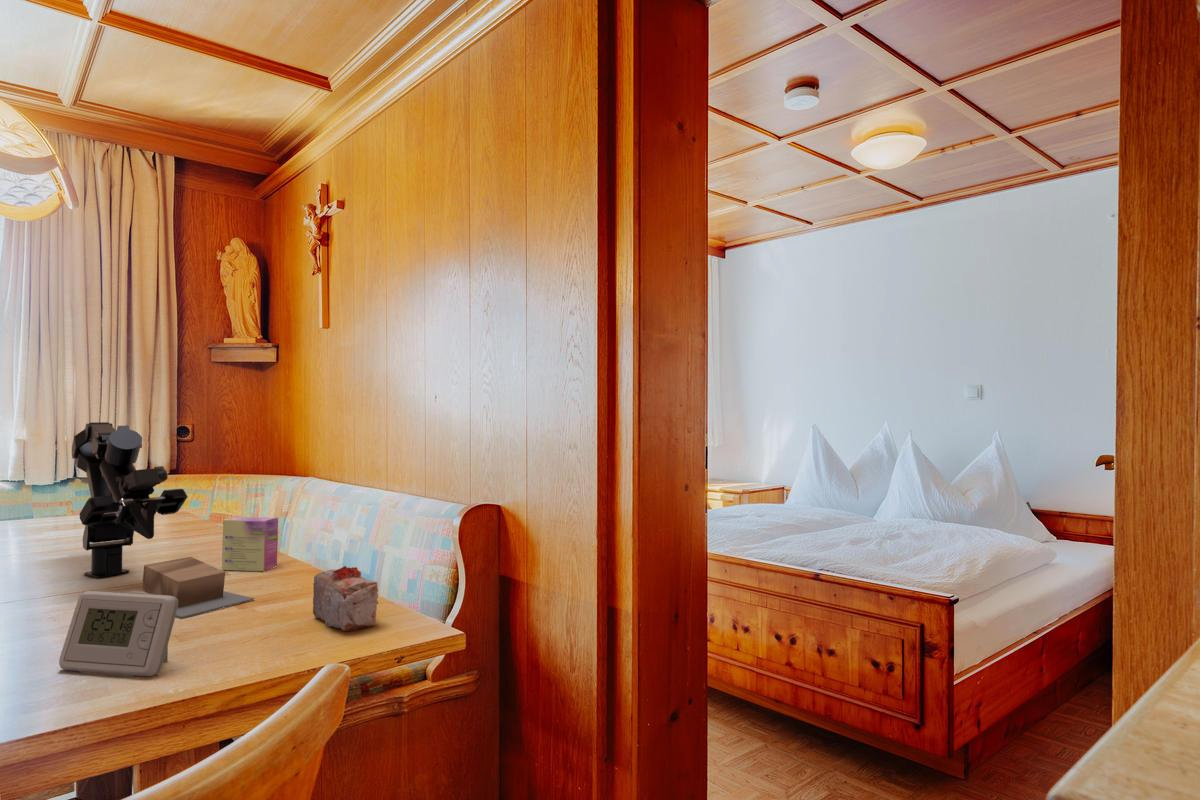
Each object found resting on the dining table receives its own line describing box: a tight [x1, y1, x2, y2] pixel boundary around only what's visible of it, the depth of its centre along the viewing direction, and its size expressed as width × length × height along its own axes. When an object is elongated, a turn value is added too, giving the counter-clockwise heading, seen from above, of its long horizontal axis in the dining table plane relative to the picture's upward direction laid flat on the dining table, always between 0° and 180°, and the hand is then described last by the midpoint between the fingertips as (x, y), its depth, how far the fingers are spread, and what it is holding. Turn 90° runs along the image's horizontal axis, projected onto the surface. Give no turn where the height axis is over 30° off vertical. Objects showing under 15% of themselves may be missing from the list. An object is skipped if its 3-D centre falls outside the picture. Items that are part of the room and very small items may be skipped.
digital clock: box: [58, 590, 178, 678], centre depth 101 cm, size 16×9×11 cm, turn 69°
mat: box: [175, 590, 256, 620], centre depth 134 cm, size 15×14×2 cm
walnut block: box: [141, 556, 226, 607], centre depth 137 cm, size 5×9×12 cm
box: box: [221, 515, 279, 573], centre depth 163 cm, size 10×6×12 cm, turn 84°
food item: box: [312, 565, 379, 632], centre depth 123 cm, size 14×8×10 cm, turn 47°
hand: (151, 537), depth 143 cm, fingers closed
